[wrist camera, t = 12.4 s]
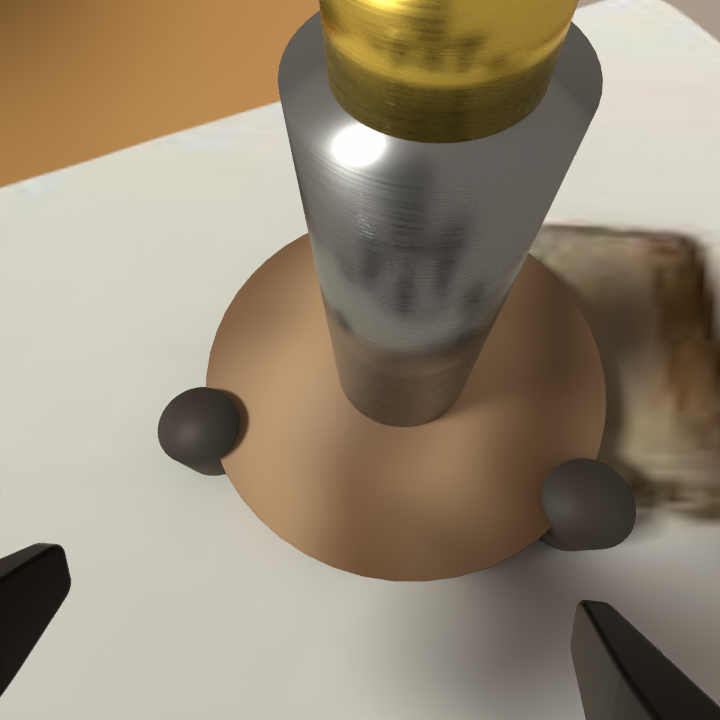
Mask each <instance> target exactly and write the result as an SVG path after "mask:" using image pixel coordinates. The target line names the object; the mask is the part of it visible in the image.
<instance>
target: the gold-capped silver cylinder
mask: <svg viewBox="0 0 720 720" xmlns="http://www.w3.org/2000/svg"><path fill="white" fill-rule="evenodd" d="M578 1H579V0H319V5H320V6H319V7H320V11H318V12H317V13H316V14H315V15H313V16H312V17H311V18H309V19H308V20H307V21H306V22H305V23H304V25H302V26H301V27H300V28H299V29H298V30H297V32H296V33H295V34H294V36H293V37H292V39H291V40H290V41H289V43H288V45H287V47H286V49H285V51H284V53H283V55H282V59H281V62H280V65H279V73H278V86H279V94H280V99H281V104H282V108H283V113H284V118H285V123H286V128H287V132H288V137H289V142H290V147H291V152H292V156H293V161H294V166H295V171H296V175H297V180H298V185H299V190H300V195H301V199H302V204H303V209H304V214H305V218H306V223H307V228H308V233H309V238H310V242H311V247H312V252H313V257H314V261H315V266H316V271H317V276H318V281H319V285H320V290H321V295H322V300H323V305H324V309H325V314H326V319H327V324H328V328H329V333H330V338H331V343H332V348H333V352H334V357H335V362H336V367H337V371H338V376H339V380H340V384H341V387H342V389H343V391H344V394H345V395H346V397H347V398H348V400H349V401H350V402H351V404H352V405H353V406H354V407H355V408H356V409H357V410H358V411H359V412H360V413H362V414H363V415H365V416H366V417H368V418H370V419H371V420H373V421H375V422H378V423H381V424H384V425H388V426H393V427H414V426H419V425H423V424H426V423H429V422H431V421H433V420H435V419H437V418H439V417H440V416H442V415H443V414H445V413H446V412H447V411H448V410H449V409H450V408H451V407H452V406H453V405H454V404H455V402H456V401H457V399H458V398H459V396H460V394H461V392H462V390H463V388H464V386H465V384H466V382H467V380H468V378H469V376H470V373H471V371H472V369H473V367H474V365H475V363H476V361H477V359H478V357H479V355H480V353H481V351H482V348H483V346H484V344H485V342H486V340H487V338H488V336H489V334H490V332H491V330H492V328H493V325H494V323H495V321H496V319H497V317H498V315H499V313H500V311H501V309H502V307H503V305H504V302H505V300H506V298H507V296H508V294H509V292H510V290H511V288H512V286H513V284H514V282H515V280H516V277H517V275H518V273H519V271H520V269H521V267H522V265H523V263H524V261H525V259H526V257H527V254H528V252H529V250H530V248H531V246H532V244H533V242H534V240H535V238H536V236H537V234H538V232H539V229H540V227H541V225H542V223H543V221H544V219H545V217H546V215H547V213H548V211H549V209H550V206H551V204H552V202H553V200H554V198H555V196H556V194H557V192H558V190H559V188H560V186H561V184H562V181H563V179H564V177H565V175H566V173H567V171H568V169H569V167H570V165H571V163H572V161H573V158H574V156H575V154H576V152H577V150H578V148H579V146H580V144H581V142H582V140H583V138H584V135H585V133H586V131H587V129H588V127H589V125H590V123H591V121H592V119H593V117H594V115H595V113H596V110H597V108H598V106H599V102H600V98H601V95H602V83H603V77H602V71H601V65H600V62H599V60H598V57H597V54H596V52H595V50H594V48H593V47H592V45H591V43H590V42H589V40H588V39H587V37H586V36H585V35H584V34H583V33H582V31H581V30H580V29H579V28H578V27H577V26H576V25H575V24H574V23H573V22H572V18H573V15H574V12H575V10H576V7H577V4H578Z"/></svg>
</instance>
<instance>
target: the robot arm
mask: <svg viewBox="0 0 720 720" xmlns="http://www.w3.org/2000/svg"><path fill="white" fill-rule="evenodd" d="M70 587H71V577H70V573H69V568H68V564H67V559H66V555H65V551H64V549H63V548H62V546H60V545H58V544H49V543H37V544H34V545H31V546H29V547H27V548H24V549H22V550H20V551H17V552H15V553H13V554H10V555H8V556H6V557H3V558H1V559H0V697H1V695H2V694H3V693H4V691H5V690H6V689H7V687H8V686H9V684H10V683H11V681H12V680H13V678H14V677H15V676H16V674H17V673H18V671H19V670H20V668H21V666H22V665H23V663H24V662H25V660H26V659H27V657H28V656H29V654H30V653H31V651H32V649H33V648H34V646H35V645H36V643H37V642H38V640H39V639H40V637H41V635H42V634H43V632H44V631H45V629H46V628H47V626H48V625H49V623H50V621H51V620H52V618H53V617H54V615H55V614H56V612H57V611H58V609H59V608H60V606H61V604H62V603H63V601H64V600H65V598H66V597H67V595H68V593H69V590H70ZM571 652H572V658H573V663H574V667H575V672H576V676H577V681H578V685H579V690H580V694H581V699H582V703H583V708H584V713H585V717H586V720H720V707H719V706H718V705H717V704H716V703H715V702H714V701H713V700H712V699H711V698H710V697H709V696H708V695H707V694H705V693H704V692H703V691H702V690H701V689H700V688H699V687H698V686H697V685H696V684H695V683H694V682H693V681H692V680H690V679H689V678H688V677H687V676H686V675H685V674H684V673H683V672H682V671H681V670H680V669H679V668H678V667H677V666H675V665H674V664H673V663H672V662H671V661H670V660H669V659H668V658H667V657H666V656H665V655H664V654H663V653H662V652H660V651H659V650H658V649H657V648H656V647H655V646H654V645H653V644H652V643H651V642H650V641H649V640H648V639H646V638H645V637H644V636H643V635H642V634H641V633H640V632H639V631H638V630H637V629H636V628H635V627H634V626H633V625H631V624H630V623H629V622H628V621H627V620H626V619H625V618H624V617H623V616H622V615H621V614H620V613H619V612H618V611H616V610H615V609H614V608H613V607H612V606H611V605H609V604H608V603H605V602H598V601H589V600H582V601H580V602H579V603H578V605H577V609H576V615H575V621H574V627H573V632H572V638H571Z"/></svg>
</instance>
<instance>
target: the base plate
mask: <svg viewBox="0 0 720 720" xmlns="http://www.w3.org/2000/svg"><path fill="white" fill-rule="evenodd" d="M605 415H606V388H605V378H604V371H603V367H602V362H601V358H600V354H599V350H598V347H597V345H596V342H595V340H594V337H593V334H592V332H591V329H590V327H589V325H588V323H587V321H586V319H585V318H584V316H583V314H582V312H581V310H580V309H579V307H578V305H577V304H576V302H575V301H574V300H573V298H572V297H571V296H570V294H569V293H568V291H567V290H566V289H565V287H564V286H563V285H562V284H561V283H560V282H559V281H558V280H557V279H556V278H555V276H554V275H553V274H552V273H551V272H550V271H549V270H548V269H547V268H546V267H544V266H543V265H542V264H541V263H540V262H539V261H537V260H536V259H535V258H534V257H533V256H532V255H530V254H529V253H528V254H527V257H526V259H525V261H524V263H523V265H522V267H521V269H520V271H519V273H518V275H517V277H516V280H515V282H514V284H513V286H512V288H511V290H510V292H509V294H508V296H507V298H506V300H505V302H504V305H503V307H502V309H501V311H500V313H499V315H498V317H497V319H496V321H495V323H494V325H493V328H492V330H491V332H490V334H489V336H488V338H487V340H486V342H485V344H484V346H483V348H482V351H481V353H480V355H479V357H478V359H477V361H476V363H475V365H474V367H473V369H472V371H471V373H470V376H469V378H468V380H467V382H466V384H465V386H464V388H463V390H462V392H461V394H460V396H459V398H458V399H457V401H456V402H455V404H454V405H453V406H452V407H451V408H450V409H449V410H448V411H447V412H446V413H445V414H443V415H442V416H440V417H439V418H437V419H435V420H433V421H431V422H429V423H426V424H423V425H419V426H414V427H393V426H388V425H384V424H381V423H378V422H375V421H373V420H371V419H370V418H368V417H366V416H365V415H363V414H362V413H360V412H359V411H358V410H357V409H356V408H355V407H354V406H353V405H352V404H351V402H350V401H349V400H348V398H347V397H346V395H345V394H344V391H343V389H342V387H341V384H340V380H339V376H338V371H337V367H336V362H335V357H334V352H333V348H332V343H331V338H330V333H329V328H328V324H327V319H326V314H325V309H324V305H323V300H322V295H321V290H320V285H319V281H318V276H317V271H316V266H315V261H314V257H313V252H312V247H311V242H310V238H309V233H307V234H305V235H303V236H301V237H300V238H298V239H296V240H295V241H293V242H291V243H290V244H288V245H286V246H285V247H283V248H282V249H281V250H279V251H278V252H277V253H275V254H274V255H273V256H272V257H270V258H269V259H268V260H267V261H266V262H264V263H263V264H262V265H261V266H260V267H259V268H258V269H257V270H256V271H255V272H254V273H253V274H252V275H251V276H250V278H249V279H248V280H247V281H246V283H245V284H244V285H243V286H242V287H241V289H240V290H239V291H238V293H237V294H236V296H235V297H234V299H233V301H232V302H231V304H230V305H229V307H228V309H227V310H226V312H225V315H224V317H223V319H222V321H221V323H220V325H219V328H218V330H217V332H216V336H215V339H214V342H213V346H212V349H211V352H210V358H209V364H208V370H207V376H206V387H199V388H194V389H190V390H187V391H185V392H183V393H181V394H180V395H178V396H177V397H175V398H174V399H173V400H172V401H171V402H170V403H169V404H168V405H167V407H166V408H165V410H164V411H163V413H162V415H161V418H160V421H159V425H158V438H159V442H160V445H161V447H162V449H163V450H164V451H165V453H166V454H167V455H168V456H169V457H171V458H172V459H174V460H176V461H178V462H180V463H182V464H184V465H185V466H187V467H189V468H191V469H193V470H195V471H197V472H199V473H201V474H205V475H221V474H225V473H226V474H227V476H228V477H229V479H230V481H231V482H232V484H233V485H234V487H235V489H236V490H237V492H238V493H239V495H240V497H241V498H242V499H243V500H244V501H245V503H246V504H247V505H248V506H249V507H250V509H251V510H252V511H253V512H254V513H255V515H256V516H257V517H258V518H259V519H260V520H261V521H262V522H263V523H265V524H266V525H267V526H268V527H269V528H270V529H271V530H272V531H274V532H275V533H276V534H277V535H278V536H279V537H280V538H282V539H283V540H285V541H286V542H288V543H289V544H291V545H292V546H294V547H295V548H297V549H298V550H300V551H301V552H303V553H304V554H306V555H308V556H310V557H313V558H315V559H317V560H319V561H321V562H323V563H325V564H327V565H329V566H332V567H334V568H337V569H341V570H344V571H347V572H350V573H354V574H357V575H360V576H364V577H371V578H377V579H384V580H390V581H432V580H439V579H446V578H453V577H458V576H462V575H465V574H469V573H472V572H475V571H479V570H482V569H486V568H488V567H490V566H492V565H494V564H497V563H499V562H501V561H503V560H505V559H507V558H509V557H512V556H514V555H515V554H517V553H518V552H520V551H521V550H523V549H524V548H526V547H527V546H529V545H530V544H532V543H533V542H535V541H536V540H538V539H539V538H540V539H542V540H543V541H544V542H545V543H547V544H548V545H550V546H552V547H554V548H557V549H560V550H564V551H583V550H597V549H607V548H611V547H614V546H616V545H618V544H620V543H621V542H623V541H624V540H625V539H626V538H627V537H628V535H629V534H630V533H631V531H632V529H633V526H634V523H635V517H636V509H635V502H634V499H633V496H632V493H631V491H630V489H629V487H628V486H627V484H626V483H625V481H624V480H623V479H622V478H621V476H620V475H619V474H618V473H616V472H615V471H614V470H613V469H611V468H610V467H608V466H607V465H605V464H603V463H601V462H598V461H596V458H597V455H598V452H599V450H600V445H601V441H602V436H603V431H604V426H605Z"/></svg>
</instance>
